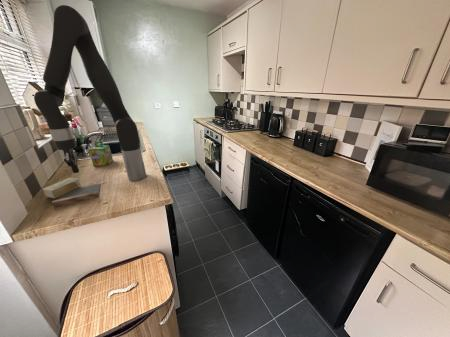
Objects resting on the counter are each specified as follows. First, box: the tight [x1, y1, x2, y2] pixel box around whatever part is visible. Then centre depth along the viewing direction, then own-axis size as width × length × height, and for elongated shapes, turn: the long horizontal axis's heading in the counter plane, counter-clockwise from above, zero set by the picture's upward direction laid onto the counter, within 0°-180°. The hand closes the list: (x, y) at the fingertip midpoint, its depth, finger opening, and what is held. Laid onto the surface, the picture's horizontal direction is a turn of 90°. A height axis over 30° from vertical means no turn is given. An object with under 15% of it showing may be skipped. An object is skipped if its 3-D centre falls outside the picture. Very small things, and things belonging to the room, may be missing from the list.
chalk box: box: [88, 141, 114, 167], centre depth 119 cm, size 9×9×15 cm
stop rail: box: [51, 191, 99, 208], centre depth 81 cm, size 16×2×2 cm, turn 119°
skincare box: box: [42, 177, 82, 200], centre depth 88 cm, size 6×4×12 cm
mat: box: [56, 183, 101, 200], centre depth 87 cm, size 16×12×1 cm
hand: (76, 172), depth 89 cm, fingers closed
